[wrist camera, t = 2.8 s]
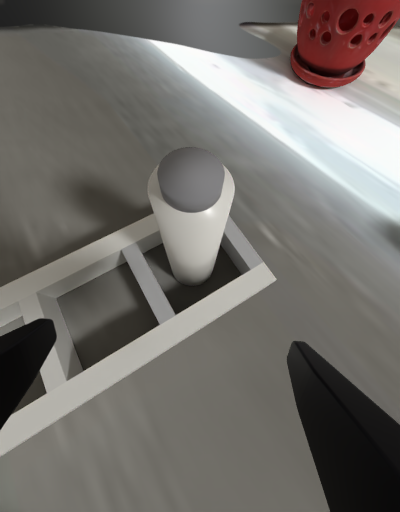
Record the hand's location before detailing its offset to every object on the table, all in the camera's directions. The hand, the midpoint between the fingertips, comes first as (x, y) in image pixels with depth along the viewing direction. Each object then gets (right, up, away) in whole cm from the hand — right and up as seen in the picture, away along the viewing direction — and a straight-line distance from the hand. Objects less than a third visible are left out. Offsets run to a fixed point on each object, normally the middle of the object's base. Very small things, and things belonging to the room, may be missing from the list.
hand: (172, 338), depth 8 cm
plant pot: (+21, +34, +28) cm, 49 cm away
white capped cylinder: (0, +2, +15) cm, 15 cm away
